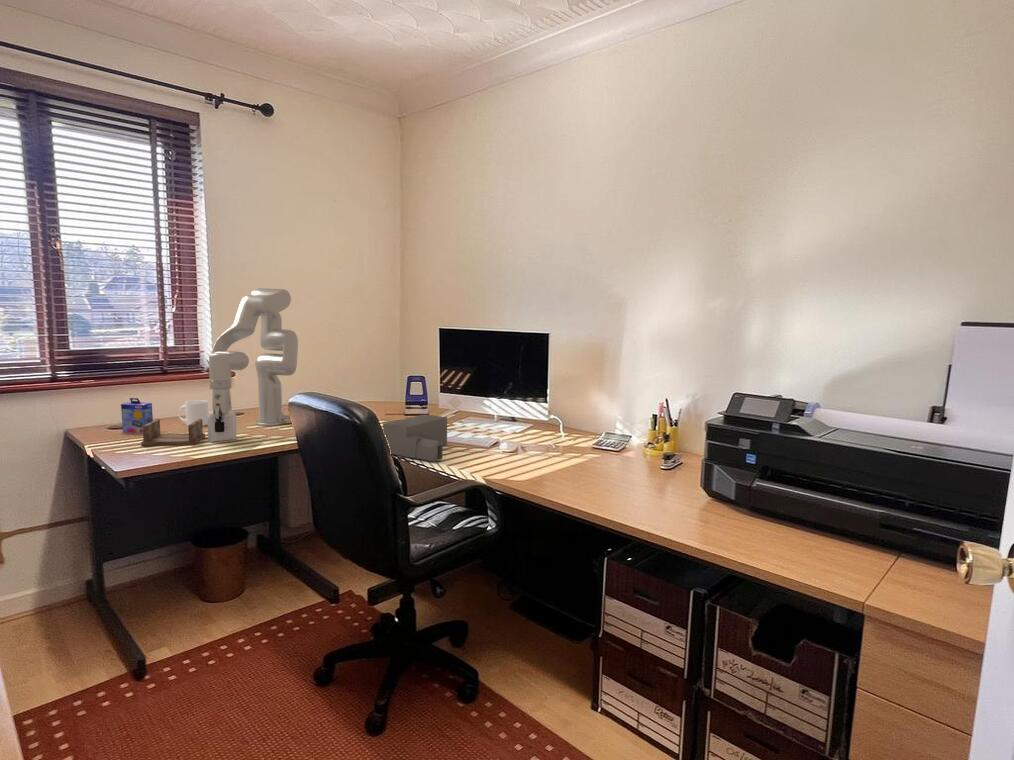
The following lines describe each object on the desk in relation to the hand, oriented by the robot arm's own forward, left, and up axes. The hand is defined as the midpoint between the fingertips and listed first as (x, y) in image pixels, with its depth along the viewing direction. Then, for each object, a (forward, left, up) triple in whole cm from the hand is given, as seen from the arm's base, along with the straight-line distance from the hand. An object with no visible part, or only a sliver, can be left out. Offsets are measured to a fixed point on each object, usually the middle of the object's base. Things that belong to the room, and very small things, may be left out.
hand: (222, 429), depth 224 cm
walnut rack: (+17, 0, -4) cm, 18 cm away
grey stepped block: (-78, +26, -5) cm, 82 cm away
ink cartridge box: (+36, -19, -4) cm, 41 cm away
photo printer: (0, 0, -4) cm, 4 cm away
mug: (+19, -31, -4) cm, 37 cm away
